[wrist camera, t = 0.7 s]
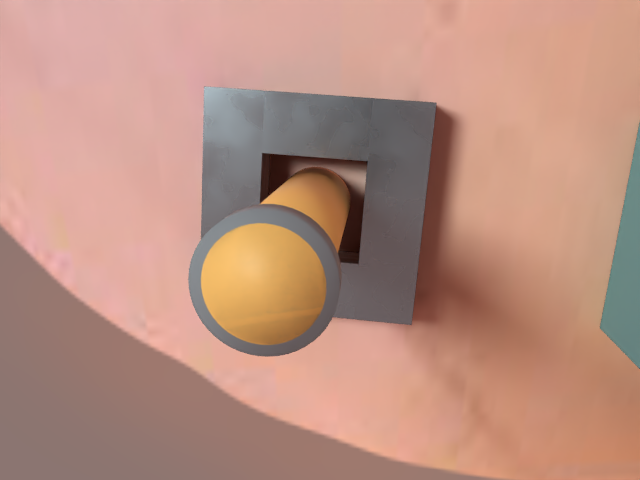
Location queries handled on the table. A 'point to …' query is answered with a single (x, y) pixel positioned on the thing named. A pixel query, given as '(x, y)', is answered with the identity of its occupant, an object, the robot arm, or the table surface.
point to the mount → (338, 143)
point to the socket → (626, 272)
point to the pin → (274, 267)
